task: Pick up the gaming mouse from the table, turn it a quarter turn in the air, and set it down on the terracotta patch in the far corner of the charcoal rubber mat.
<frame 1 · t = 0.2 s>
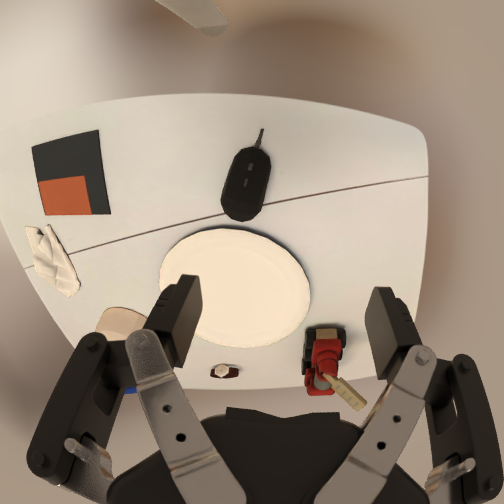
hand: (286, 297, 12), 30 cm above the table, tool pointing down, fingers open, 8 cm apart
gaming mouse: (249, 174, 40), on the table
plate: (233, 293, 52), on the table
mat: (66, 177, 43), on the table
toy fire truck: (328, 346, 58), on the table
kettle: (134, 335, 64), on the table
cloth: (51, 257, 54), on the table
watch: (225, 368, 66), on the table
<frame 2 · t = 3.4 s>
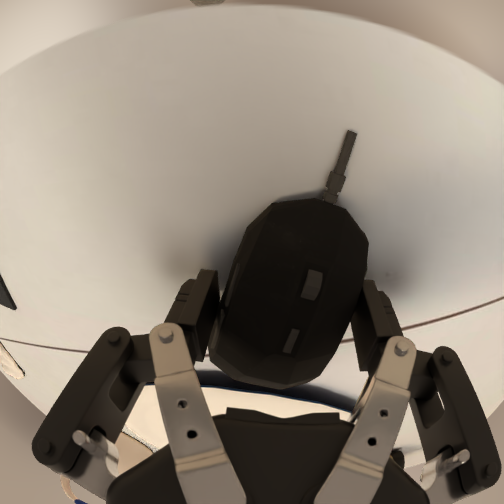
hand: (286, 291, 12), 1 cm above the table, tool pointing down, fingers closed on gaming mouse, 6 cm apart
gaming mouse: (292, 278, 13), on the table, touching gripper
plate: (241, 436, 25), on the table
kettle: (105, 432, 37), on the table
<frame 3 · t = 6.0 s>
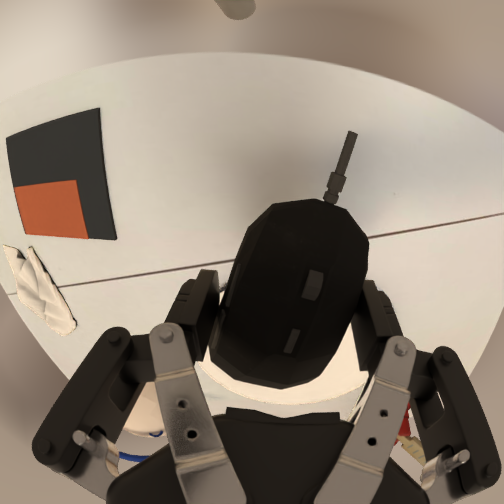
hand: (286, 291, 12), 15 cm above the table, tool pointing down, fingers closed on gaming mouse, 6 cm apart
gaming mouse: (292, 278, 13), point 14 cm above the table, touching gripper
plate: (293, 349, 37), on the table
mat: (51, 181, 27), on the table
toy fire truck: (388, 393, 42), on the table
kettle: (148, 384, 49), on the table
cloth: (37, 287, 39), on the table
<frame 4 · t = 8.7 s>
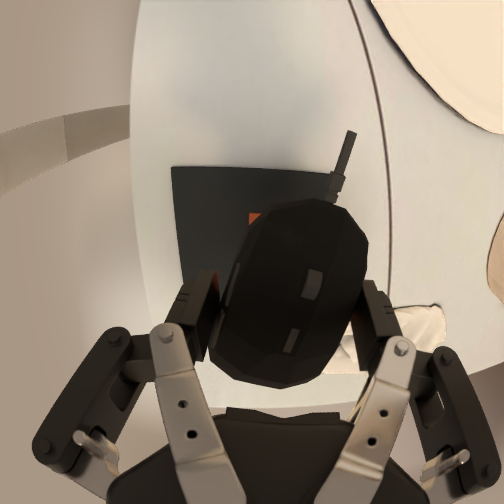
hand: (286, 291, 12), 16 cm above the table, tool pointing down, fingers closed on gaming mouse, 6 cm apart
gaming mouse: (291, 278, 13), point 15 cm above the table, touching gripper
plate: (474, 15, 11), on the table
mat: (248, 257, 30), on the table
cloth: (379, 345, 36), on the table
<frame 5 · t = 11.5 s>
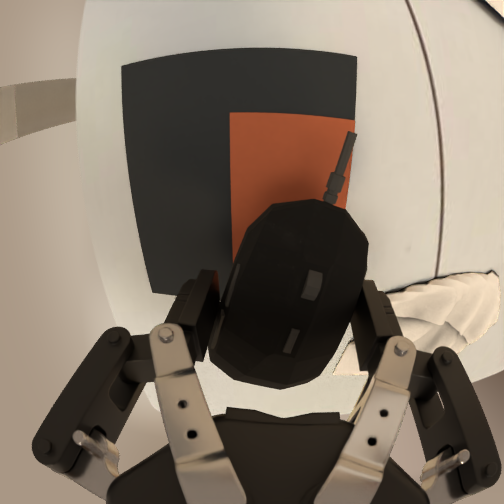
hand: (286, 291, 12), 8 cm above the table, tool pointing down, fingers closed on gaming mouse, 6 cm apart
gaming mouse: (291, 278, 13), point 7 cm above the table, touching gripper
mat: (232, 189, 19), on the table
cloth: (421, 332, 25), on the table
when the fingers open (1 cm above the table, at t = 14.0 s): gaming mouse stays where it is, resting on mat.
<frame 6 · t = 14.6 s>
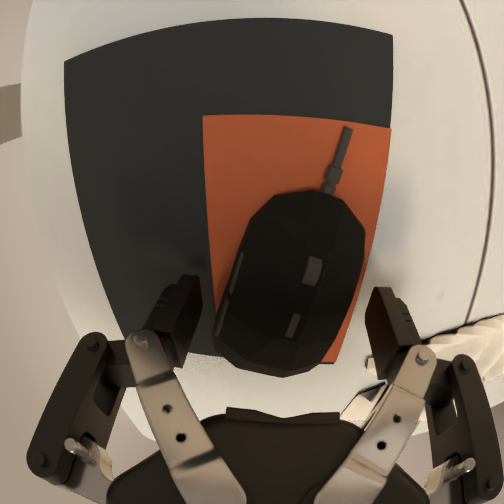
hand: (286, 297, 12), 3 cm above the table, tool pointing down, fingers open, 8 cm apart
gaming mouse: (293, 268, 14), resting on mat
mat: (211, 226, 14), on the table
cloth: (439, 376, 19), on the table
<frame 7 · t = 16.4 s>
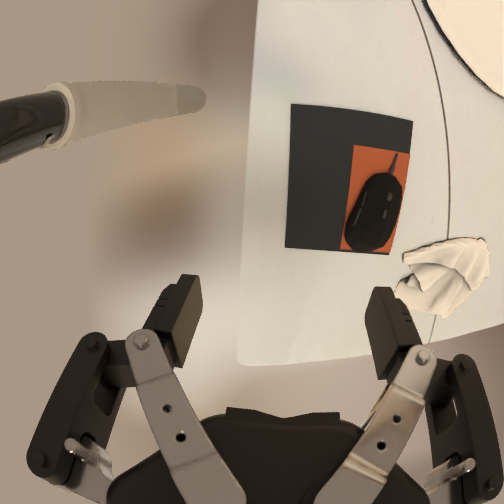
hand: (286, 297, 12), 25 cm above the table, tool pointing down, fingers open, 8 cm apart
gaming mouse: (376, 202, 34), resting on mat
plate: (491, 18, 14), on the table
mat: (348, 184, 34), on the table
cloth: (440, 277, 39), on the table
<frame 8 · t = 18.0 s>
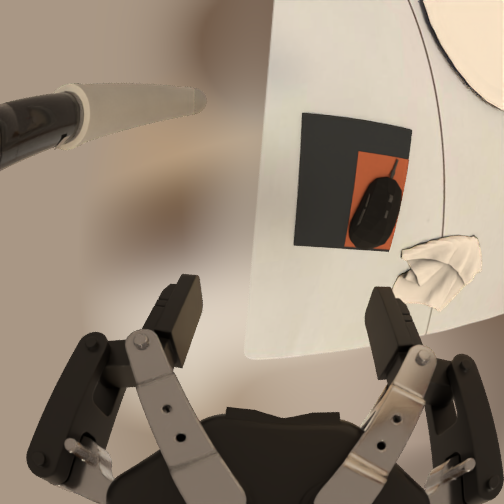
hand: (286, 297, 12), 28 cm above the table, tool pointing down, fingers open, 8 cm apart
gaming mouse: (378, 203, 37), resting on mat
plate: (487, 31, 18), on the table
mat: (353, 187, 37), on the table
cloth: (435, 272, 42), on the table
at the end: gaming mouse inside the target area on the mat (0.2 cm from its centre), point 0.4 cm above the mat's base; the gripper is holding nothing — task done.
